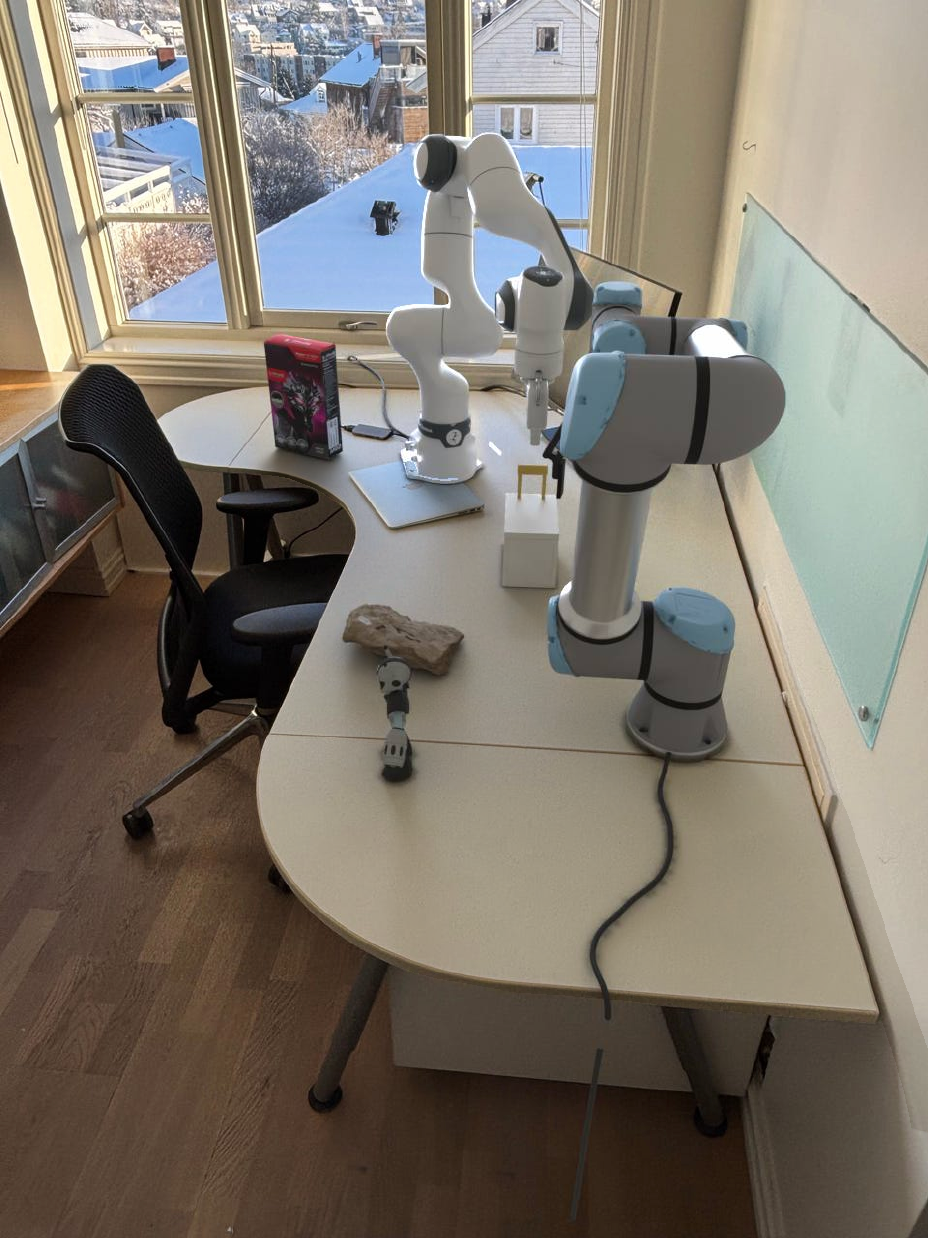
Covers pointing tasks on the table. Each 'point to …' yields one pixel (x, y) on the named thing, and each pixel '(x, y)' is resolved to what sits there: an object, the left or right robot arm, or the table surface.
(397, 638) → the stone
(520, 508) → the white lid with handle
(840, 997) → the table surface
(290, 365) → the graphics card box
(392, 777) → the robot
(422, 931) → the table surface
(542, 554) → the chest
